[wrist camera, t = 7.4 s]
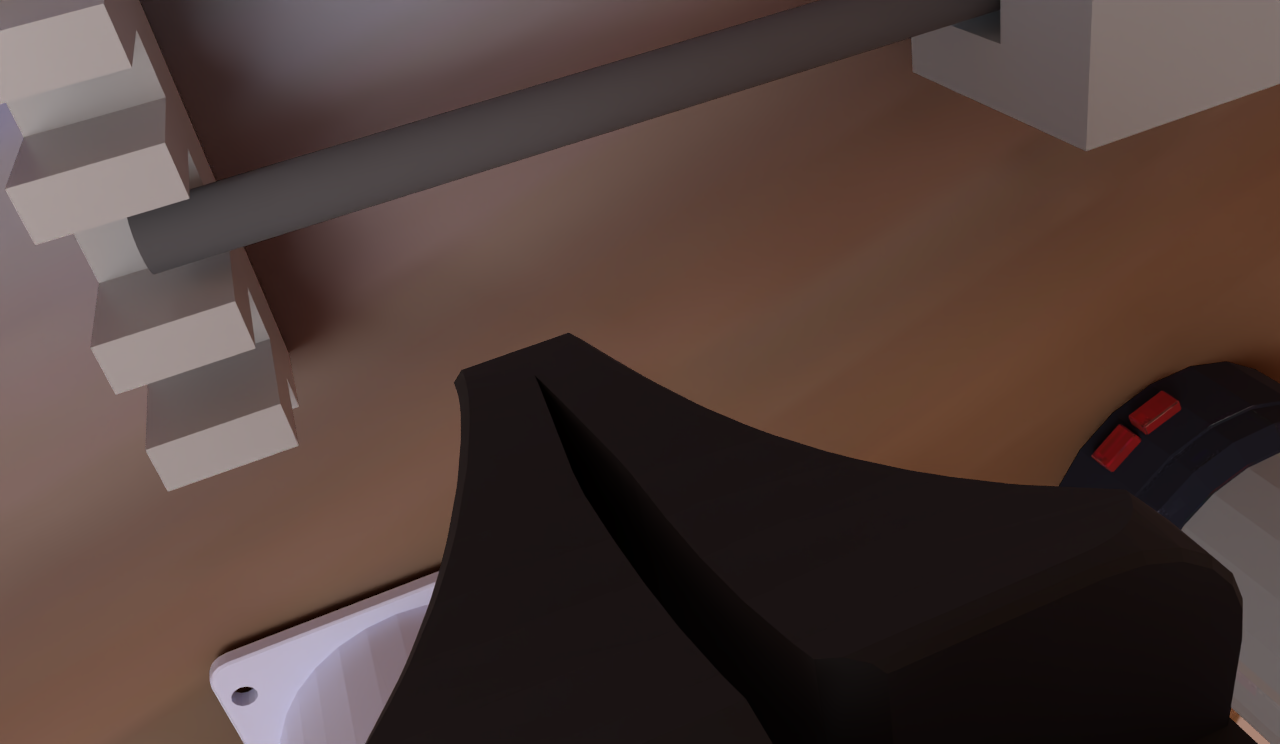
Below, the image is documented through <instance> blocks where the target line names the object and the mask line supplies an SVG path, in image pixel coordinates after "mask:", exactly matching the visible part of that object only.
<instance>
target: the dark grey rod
mask: <svg viewBox="0 0 1280 744" xmlns="http://www.w3.org/2000/svg"><path fill="white" fill-rule="evenodd" d="M998 10H1000V0H819V1H816V2H813V3H809V4H806V5H803V6H799V7H796V8H793V9H789V10H786V11H783V12H779V13H776V14H773V15H769V16H766V17H763V18H759V19H756V20H753V21H749V22H746V23H743V24H739V25H736V26H733V27H729V28H726V29H723V30H719V31H716V32H713V33H709V34H706V35H703V36H699V37H696V38H693V39H689V40H686V41H683V42H679V43H676V44H673V45H669V46H666V47H663V48H659V49H656V50H653V51H649V52H646V53H643V54H639V55H636V56H633V57H629V58H626V59H623V60H619V61H616V62H613V63H609V64H606V65H603V66H599V67H596V68H593V69H589V70H586V71H583V72H579V73H576V74H573V75H569V76H566V77H563V78H559V79H556V80H553V81H549V82H546V83H543V84H539V85H536V86H533V87H529V88H526V89H523V90H519V91H516V92H513V93H509V94H506V95H503V96H499V97H496V98H493V99H489V100H486V101H483V102H479V103H476V104H473V105H469V106H466V107H463V108H459V109H456V110H453V111H449V112H446V113H443V114H439V115H436V116H433V117H429V118H426V119H423V120H419V121H416V122H413V123H409V124H406V125H403V126H399V127H396V128H393V129H389V130H386V131H383V132H379V133H376V134H373V135H369V136H366V137H363V138H359V139H356V140H353V141H349V142H346V143H343V144H339V145H336V146H333V147H329V148H326V149H323V150H319V151H316V152H313V153H309V154H306V155H303V156H299V157H296V158H293V159H289V160H286V161H283V162H279V163H276V164H273V165H269V166H266V167H263V168H259V169H256V170H253V171H249V172H246V173H243V174H239V175H236V176H233V177H229V178H226V179H223V180H219V181H216V182H213V183H209V184H206V185H203V186H199V187H196V188H193V189H189V194H190V199H187V200H183V201H180V202H177V203H173V204H170V205H167V206H163V207H160V208H157V209H153V210H150V211H147V212H144V213H140V214H137V215H134V216H130V217H127V220H128V223H129V227H130V230H131V233H132V236H133V238H134V241H135V243H136V246H137V248H138V250H139V253H140V255H141V257H142V259H143V261H144V262H145V264H146V266H147V267H148V269H149V270H150V272H151V273H152V274H157V273H161V272H164V271H167V270H170V269H173V268H177V267H180V266H183V265H186V264H189V263H193V262H196V261H199V260H202V259H205V258H209V257H212V256H215V255H218V254H221V253H225V252H228V251H231V250H234V249H237V248H241V247H244V246H247V245H250V244H253V243H256V242H260V241H263V240H266V239H269V238H272V237H276V236H279V235H282V234H285V233H288V232H292V231H295V230H298V229H301V228H304V227H308V226H311V225H314V224H317V223H320V222H324V221H327V220H330V219H333V218H336V217H340V216H343V215H346V214H349V213H352V212H356V211H359V210H362V209H365V208H368V207H371V206H375V205H378V204H381V203H384V202H387V201H391V200H394V199H397V198H400V197H403V196H407V195H410V194H413V193H416V192H419V191H423V190H426V189H429V188H432V187H435V186H439V185H442V184H445V183H448V182H451V181H455V180H458V179H461V178H464V177H467V176H471V175H474V174H477V173H480V172H483V171H486V170H490V169H493V168H496V167H499V166H502V165H506V164H509V163H512V162H515V161H518V160H522V159H525V158H528V157H531V156H534V155H538V154H541V153H544V152H547V151H550V150H554V149H557V148H560V147H563V146H566V145H570V144H573V143H576V142H579V141H582V140H586V139H589V138H592V137H595V136H598V135H602V134H605V133H608V132H611V131H614V130H617V129H621V128H624V127H627V126H630V125H633V124H637V123H640V122H643V121H646V120H649V119H653V118H656V117H659V116H662V115H665V114H669V113H672V112H675V111H678V110H681V109H685V108H688V107H691V106H694V105H697V104H701V103H704V102H707V101H710V100H713V99H717V98H720V97H723V96H726V95H729V94H732V93H736V92H739V91H742V90H745V89H748V88H752V87H755V86H758V85H761V84H764V83H768V82H771V81H774V80H777V79H780V78H784V77H787V76H790V75H793V74H796V73H800V72H803V71H806V70H809V69H812V68H816V67H819V66H822V65H825V64H828V63H832V62H835V61H838V60H841V59H844V58H847V57H851V56H854V55H857V54H860V53H863V52H867V51H870V50H873V49H876V48H879V47H883V46H886V45H889V44H892V43H895V42H899V41H902V40H905V39H908V38H911V37H915V36H918V35H921V34H924V33H927V32H931V31H934V30H937V29H940V28H943V27H947V26H950V25H953V24H956V23H959V22H962V21H966V20H969V19H972V18H975V17H978V16H982V15H985V14H988V13H991V12H994V11H998Z"/></svg>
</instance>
